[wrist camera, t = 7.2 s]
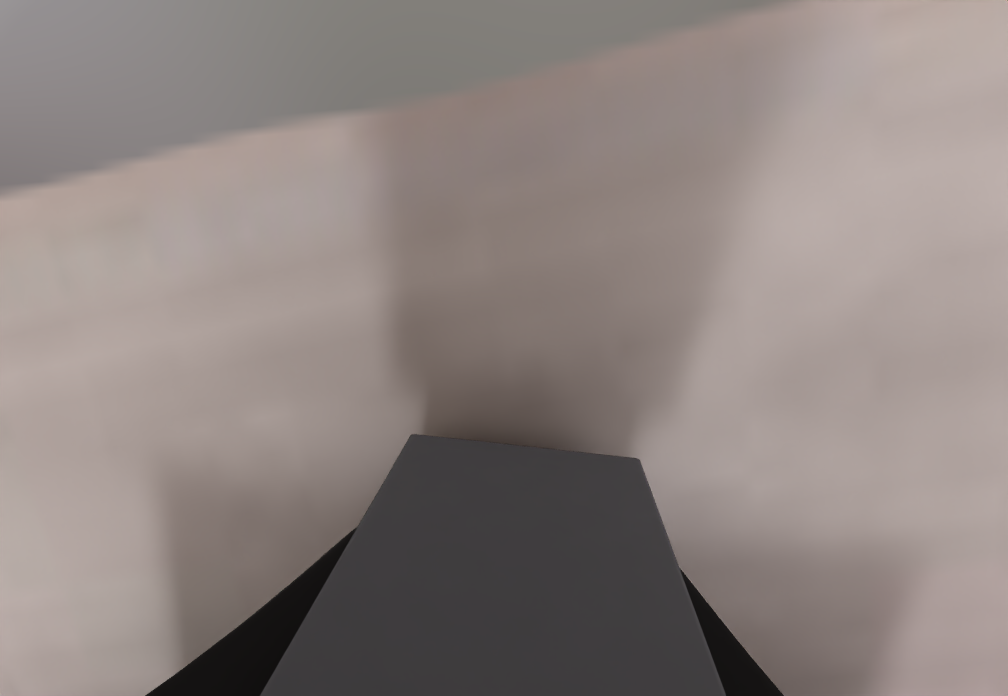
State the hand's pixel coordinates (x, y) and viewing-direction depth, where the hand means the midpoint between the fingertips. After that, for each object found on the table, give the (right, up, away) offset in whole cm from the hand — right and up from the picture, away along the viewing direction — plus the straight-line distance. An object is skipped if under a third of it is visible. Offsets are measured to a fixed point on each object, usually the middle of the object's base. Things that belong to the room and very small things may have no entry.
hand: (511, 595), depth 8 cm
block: (0, 0, +1) cm, 1 cm away
